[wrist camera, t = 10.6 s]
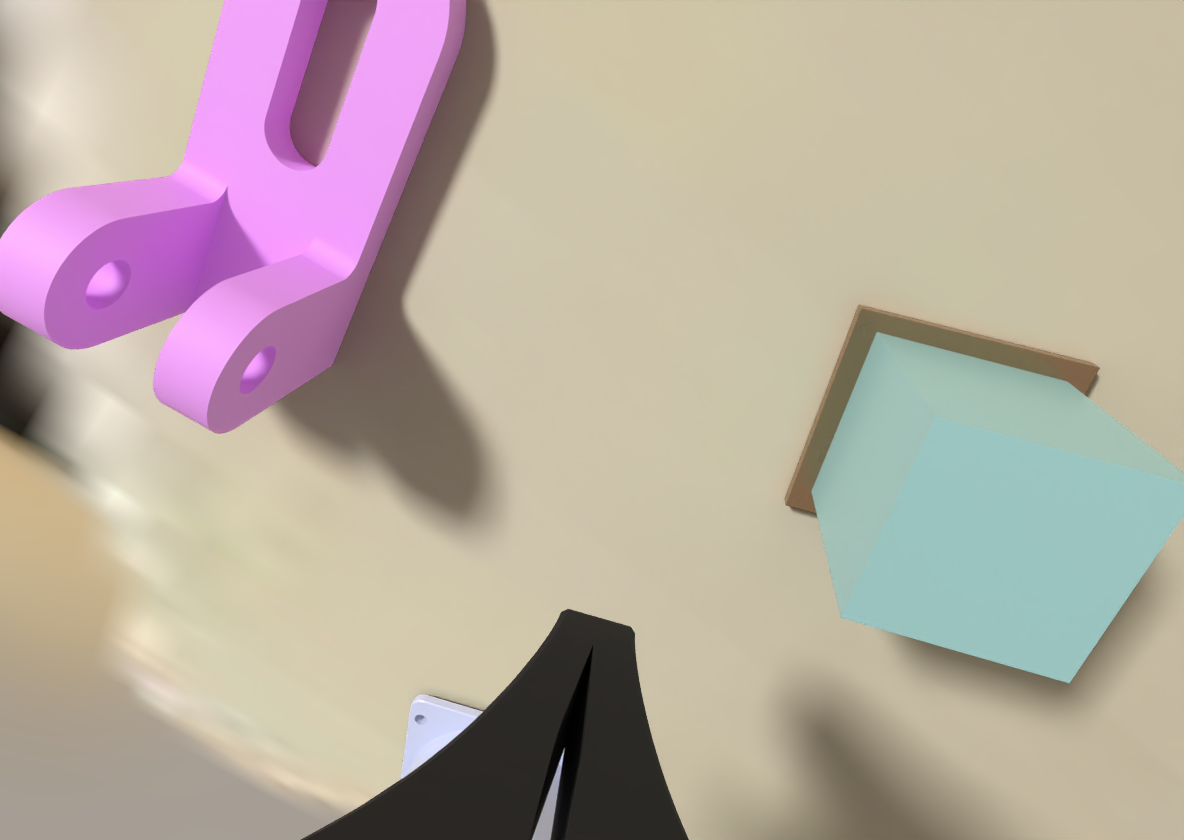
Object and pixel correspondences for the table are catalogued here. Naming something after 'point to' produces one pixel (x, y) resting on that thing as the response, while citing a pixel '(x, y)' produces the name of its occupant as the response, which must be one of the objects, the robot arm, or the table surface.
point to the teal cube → (987, 508)
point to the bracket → (242, 214)
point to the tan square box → (924, 333)
